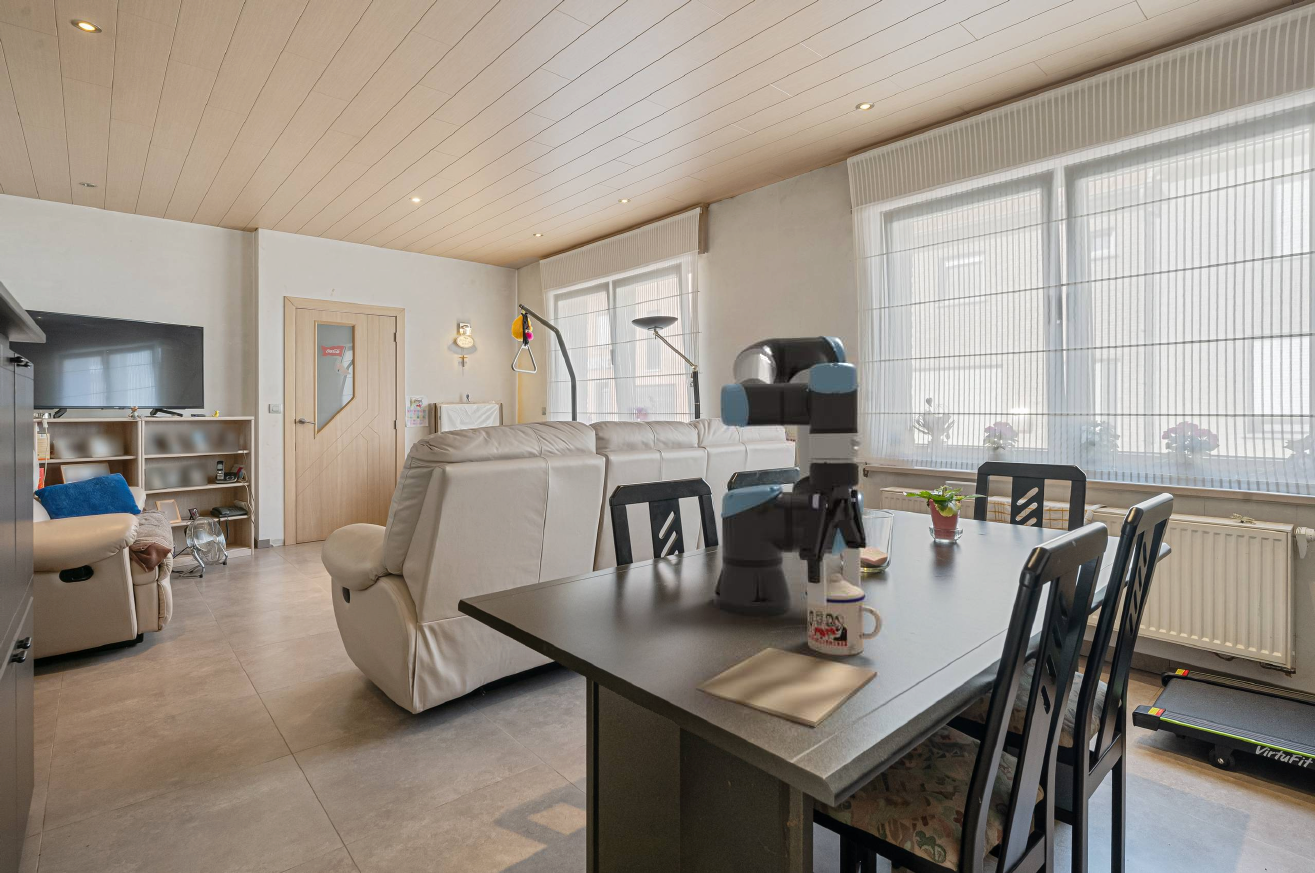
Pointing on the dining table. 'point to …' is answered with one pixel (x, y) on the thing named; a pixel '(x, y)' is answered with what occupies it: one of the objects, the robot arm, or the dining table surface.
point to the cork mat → (790, 685)
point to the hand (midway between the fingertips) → (835, 595)
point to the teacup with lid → (840, 619)
